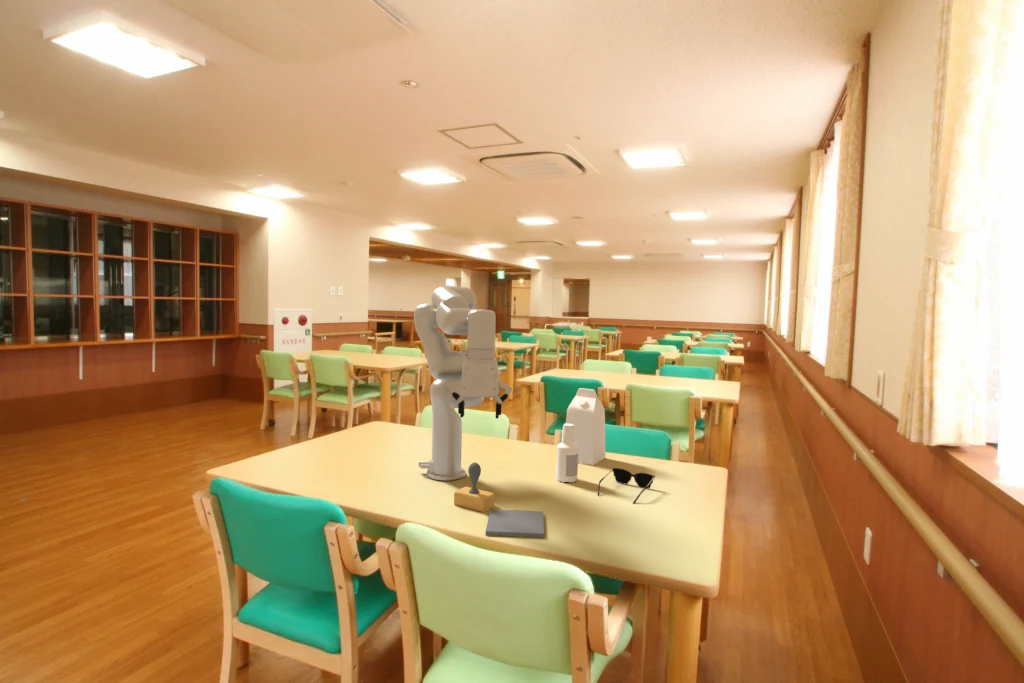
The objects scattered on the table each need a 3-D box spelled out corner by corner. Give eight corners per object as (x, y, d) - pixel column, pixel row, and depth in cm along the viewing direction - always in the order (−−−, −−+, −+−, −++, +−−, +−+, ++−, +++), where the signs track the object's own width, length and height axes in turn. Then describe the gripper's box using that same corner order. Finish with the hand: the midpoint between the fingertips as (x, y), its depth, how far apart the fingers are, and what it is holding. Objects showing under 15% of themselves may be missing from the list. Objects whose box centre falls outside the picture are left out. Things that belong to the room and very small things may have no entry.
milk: (605, 458, 195) (608, 388, 193) (592, 465, 185) (595, 392, 183) (576, 452, 201) (578, 385, 199) (562, 459, 191) (564, 389, 190)
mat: (485, 535, 125) (485, 531, 125) (490, 512, 139) (490, 509, 139) (543, 537, 125) (544, 533, 125) (543, 514, 139) (543, 511, 139)
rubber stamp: (453, 504, 144) (454, 462, 144) (465, 498, 149) (466, 457, 149) (483, 512, 140) (484, 468, 139) (494, 506, 145) (495, 463, 144)
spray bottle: (576, 484, 164) (578, 427, 163) (554, 482, 166) (556, 426, 165) (578, 477, 171) (579, 423, 170) (557, 475, 172) (558, 421, 171)
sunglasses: (654, 490, 162) (655, 474, 161) (638, 509, 148) (638, 492, 147) (612, 481, 169) (612, 466, 168) (593, 499, 155) (593, 483, 155)
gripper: (447, 355, 139) (446, 418, 140) (512, 357, 139) (510, 420, 140) (451, 353, 147) (450, 413, 148) (513, 354, 146) (511, 415, 147)
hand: (479, 417), depth 144 cm, fingers open, 9 cm apart
